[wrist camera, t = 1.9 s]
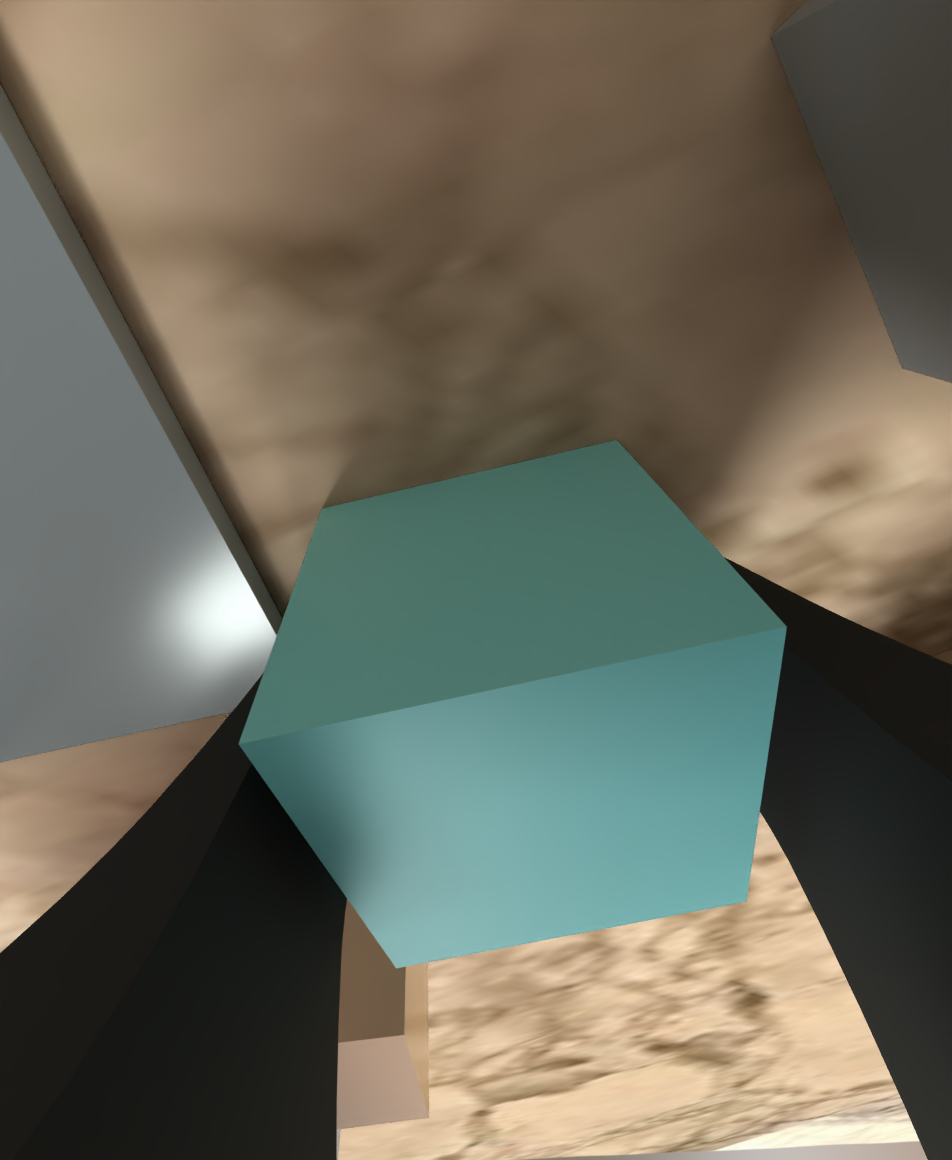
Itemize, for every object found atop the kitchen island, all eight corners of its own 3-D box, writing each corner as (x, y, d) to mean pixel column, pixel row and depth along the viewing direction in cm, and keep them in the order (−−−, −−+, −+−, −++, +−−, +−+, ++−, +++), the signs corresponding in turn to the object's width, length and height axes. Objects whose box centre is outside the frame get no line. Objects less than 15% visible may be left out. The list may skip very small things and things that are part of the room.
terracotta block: (426, 885, 16) (429, 1118, 12) (256, 903, 16) (196, 1147, 12) (409, 780, 13) (404, 1034, 9) (201, 799, 13) (98, 1071, 9)
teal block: (630, 659, 12) (746, 901, 7) (405, 707, 12) (396, 968, 8) (615, 438, 9) (786, 625, 5) (322, 506, 9) (239, 744, 5)
